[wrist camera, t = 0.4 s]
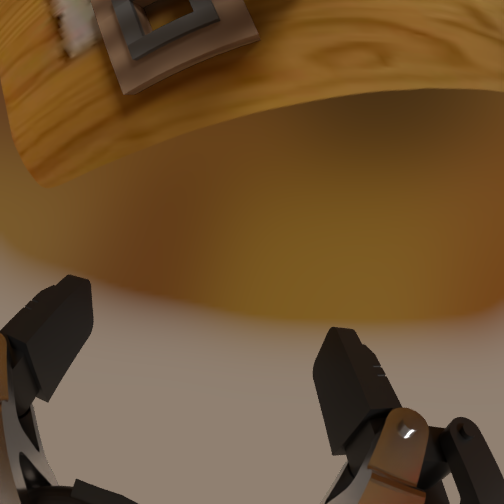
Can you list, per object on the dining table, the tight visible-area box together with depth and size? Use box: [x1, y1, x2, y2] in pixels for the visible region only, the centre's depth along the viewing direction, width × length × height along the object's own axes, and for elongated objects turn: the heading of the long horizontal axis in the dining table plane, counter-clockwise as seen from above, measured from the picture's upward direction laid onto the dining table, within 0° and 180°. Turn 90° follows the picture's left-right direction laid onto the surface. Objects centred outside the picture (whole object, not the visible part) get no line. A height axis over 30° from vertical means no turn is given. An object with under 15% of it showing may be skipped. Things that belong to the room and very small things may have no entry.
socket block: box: [91, 0, 260, 95], centre depth 22 cm, size 16×16×4 cm
